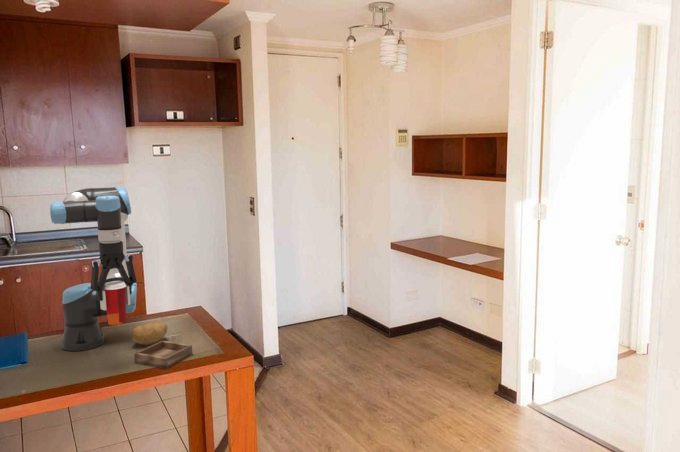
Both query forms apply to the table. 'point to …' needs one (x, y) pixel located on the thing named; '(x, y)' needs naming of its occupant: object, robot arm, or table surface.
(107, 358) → the table surface
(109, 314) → the paper cup
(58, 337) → the table surface
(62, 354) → the table surface
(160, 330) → the potato
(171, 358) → the tray
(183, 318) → the table surface
